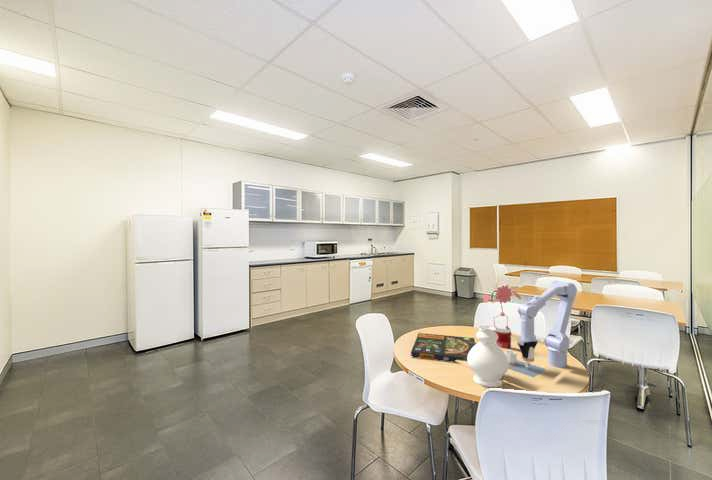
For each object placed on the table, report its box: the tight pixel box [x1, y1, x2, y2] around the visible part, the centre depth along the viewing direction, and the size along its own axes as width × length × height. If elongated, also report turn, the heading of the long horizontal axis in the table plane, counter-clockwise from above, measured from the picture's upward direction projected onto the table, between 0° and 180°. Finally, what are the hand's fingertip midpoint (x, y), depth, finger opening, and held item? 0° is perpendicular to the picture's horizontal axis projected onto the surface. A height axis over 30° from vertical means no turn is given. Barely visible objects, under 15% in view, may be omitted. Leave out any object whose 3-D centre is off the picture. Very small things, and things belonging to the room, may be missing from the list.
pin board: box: [508, 359, 547, 378], centre depth 152 cm, size 14×19×4 cm
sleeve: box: [521, 347, 535, 363], centre depth 149 cm, size 5×5×6 cm
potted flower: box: [482, 284, 522, 340], centre depth 201 cm, size 15×26×35 cm, turn 98°
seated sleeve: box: [504, 349, 518, 366], centre depth 156 cm, size 5×5×6 cm
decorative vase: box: [466, 324, 509, 388], centre depth 140 cm, size 18×18×25 cm
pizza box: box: [410, 332, 476, 363], centre depth 180 cm, size 35×35×4 cm
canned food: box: [495, 328, 512, 350], centre depth 181 cm, size 8×8×11 cm
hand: (527, 356), depth 149 cm, fingers closed on sleeve, 5 cm apart
